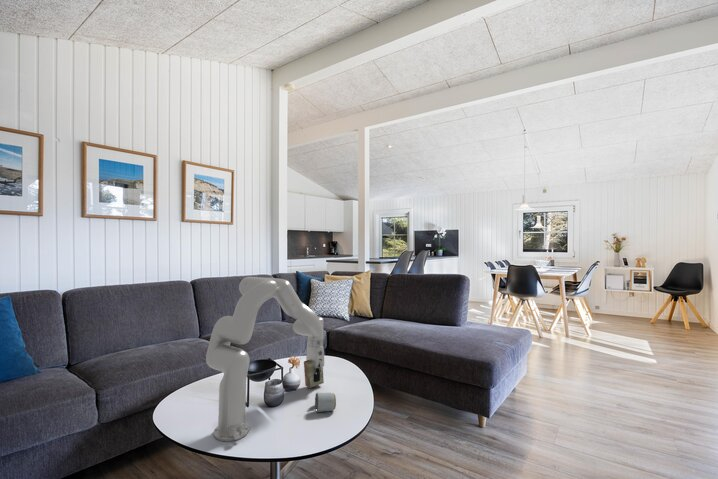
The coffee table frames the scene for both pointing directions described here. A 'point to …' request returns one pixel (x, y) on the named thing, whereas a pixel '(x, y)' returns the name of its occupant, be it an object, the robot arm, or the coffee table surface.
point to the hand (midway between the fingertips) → (314, 379)
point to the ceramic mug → (325, 401)
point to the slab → (311, 375)
